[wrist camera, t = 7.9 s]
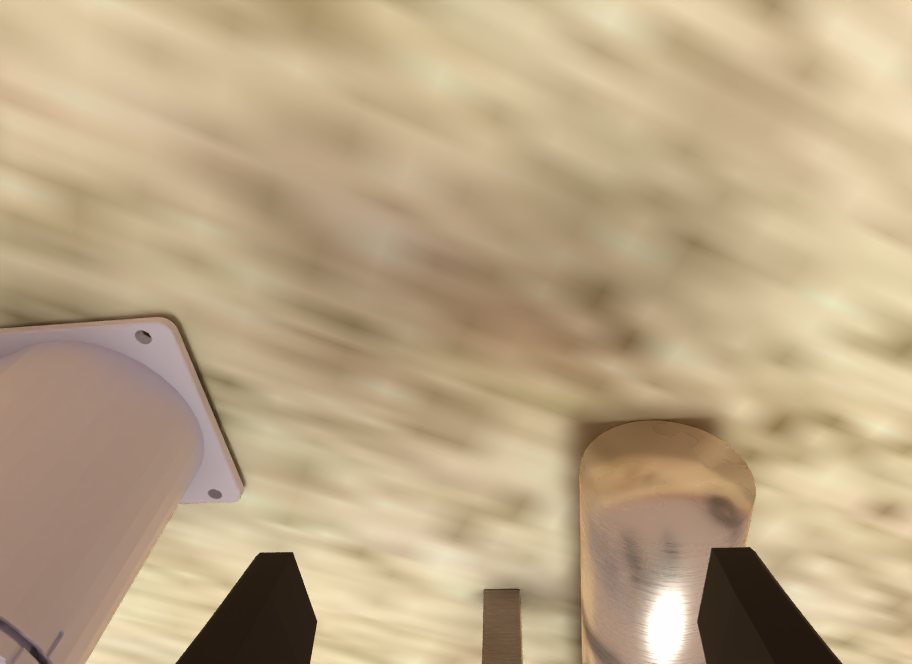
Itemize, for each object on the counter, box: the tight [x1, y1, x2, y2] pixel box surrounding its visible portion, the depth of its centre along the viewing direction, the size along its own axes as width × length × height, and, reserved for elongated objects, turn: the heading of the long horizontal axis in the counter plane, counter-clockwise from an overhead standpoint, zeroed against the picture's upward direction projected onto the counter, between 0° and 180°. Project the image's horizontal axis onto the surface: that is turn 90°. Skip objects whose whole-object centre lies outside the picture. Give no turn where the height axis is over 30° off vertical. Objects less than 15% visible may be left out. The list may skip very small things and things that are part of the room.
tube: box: [579, 420, 756, 664], centre depth 23 cm, size 18×5×5 cm, turn 7°
